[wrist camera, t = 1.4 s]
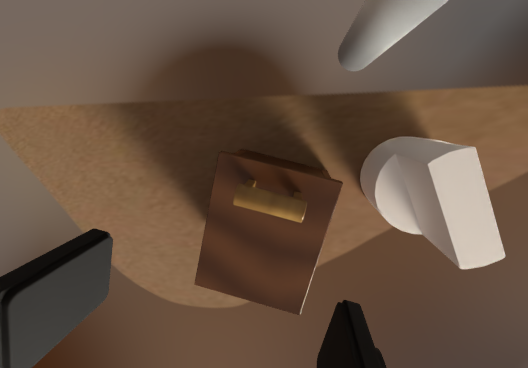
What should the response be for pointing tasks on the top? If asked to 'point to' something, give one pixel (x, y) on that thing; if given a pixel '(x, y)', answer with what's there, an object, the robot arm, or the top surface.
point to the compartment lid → (265, 231)
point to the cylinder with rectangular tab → (435, 196)
